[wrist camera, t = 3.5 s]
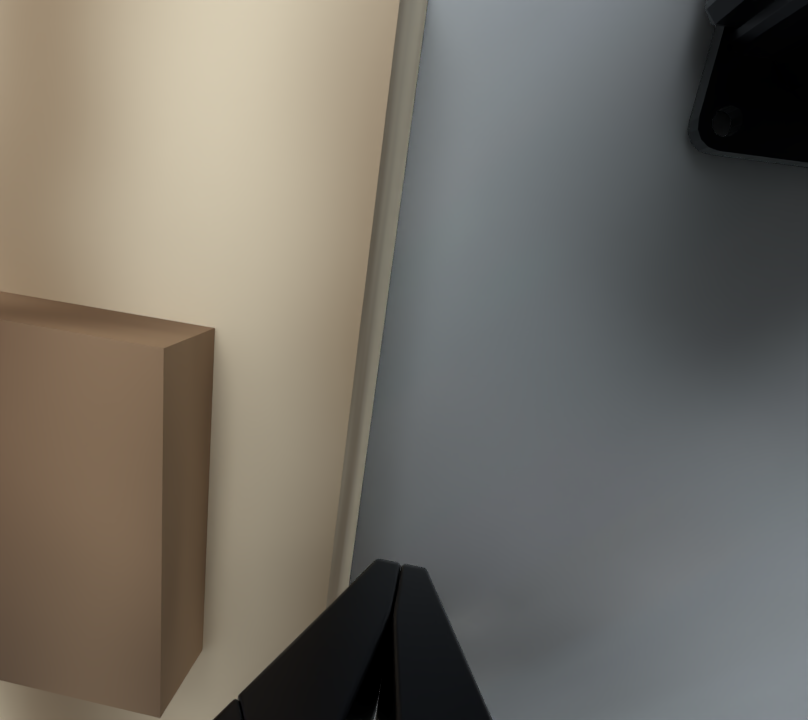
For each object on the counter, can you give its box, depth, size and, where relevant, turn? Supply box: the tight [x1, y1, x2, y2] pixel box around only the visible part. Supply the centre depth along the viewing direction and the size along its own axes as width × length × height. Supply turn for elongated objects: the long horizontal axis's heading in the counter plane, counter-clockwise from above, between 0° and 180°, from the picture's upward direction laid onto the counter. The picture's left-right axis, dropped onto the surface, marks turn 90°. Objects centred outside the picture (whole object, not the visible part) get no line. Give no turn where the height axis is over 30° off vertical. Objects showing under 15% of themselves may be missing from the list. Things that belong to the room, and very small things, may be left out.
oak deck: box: [0, 0, 428, 720], centre depth 11 cm, size 11×20×3 cm, turn 172°
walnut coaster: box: [0, 291, 215, 718], centre depth 9 cm, size 7×7×2 cm
